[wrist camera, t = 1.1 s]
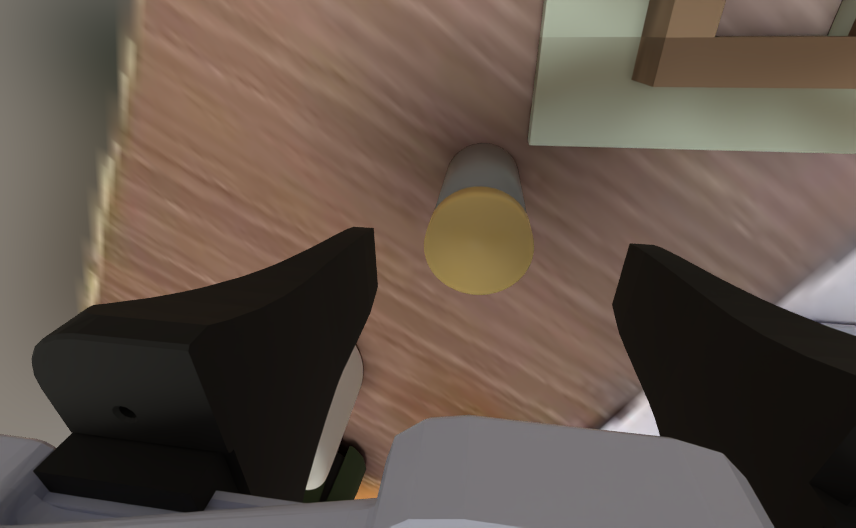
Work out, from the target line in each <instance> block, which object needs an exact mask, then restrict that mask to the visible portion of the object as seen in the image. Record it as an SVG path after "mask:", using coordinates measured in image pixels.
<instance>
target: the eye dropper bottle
mask: <svg viewBox="0 0 856 528" xmlns="http://www.w3.org/2000/svg"><path fill="white" fill-rule="evenodd" d="M362 379H363V364H362V359H361V356H360V353H359V351H358V349H357V347H356V345H355V347H354V349H353V351H352V353H351V355H350V358H349V360H348V362H347V364H346V366H345V368H344V370H343V373H342V375H341V378H340V380H339V383H338V385H337V388H336V391H335V394H334V397H333V400H332V403H331V406H330V409H329V412H328V415H327V418H326V422H325V425H324V428H323V431H322V435H321V438H320V441H319V444H318V448H317V451H316V455H315V458H314V462H313V465H312V469H311V472H310V476H309V479H308V483H307V486H306V490H312V489H316V488H318V487H319V486H321V485H322V484H323V483H324V481H325V480H326V478H327V476H328V474H329V471H330V468H331V466H332V463H333V461H334V458H335V456H336V453H337V450H338V447H339V445H340V442H341V439H342V437H343V434H344V431H345V429H346V426H347V423H348V420H349V418H350V415H351V412H352V409H353V407H354V404H355V401H356V399H357V396H358V393H359V390H360V388H361V384H362Z"/></svg>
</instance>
